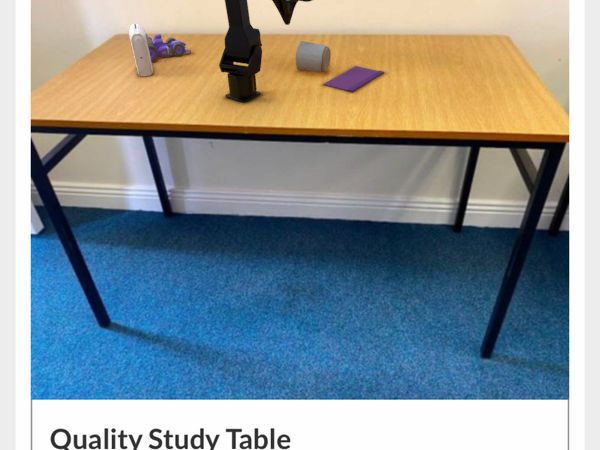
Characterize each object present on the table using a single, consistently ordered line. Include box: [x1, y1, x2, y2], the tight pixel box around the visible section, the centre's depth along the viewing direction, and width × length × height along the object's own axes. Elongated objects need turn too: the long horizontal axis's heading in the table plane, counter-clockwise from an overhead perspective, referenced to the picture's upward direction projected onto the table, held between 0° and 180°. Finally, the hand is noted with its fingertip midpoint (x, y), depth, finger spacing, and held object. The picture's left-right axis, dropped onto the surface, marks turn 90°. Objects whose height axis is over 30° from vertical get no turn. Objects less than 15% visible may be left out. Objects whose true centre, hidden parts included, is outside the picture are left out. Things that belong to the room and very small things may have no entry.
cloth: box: [322, 65, 385, 94], centre depth 126 cm, size 16×9×1 cm, turn 142°
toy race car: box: [145, 33, 192, 64], centre depth 143 cm, size 10×15×6 cm, turn 120°
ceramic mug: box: [295, 40, 332, 74], centre depth 130 cm, size 11×8×8 cm
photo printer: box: [128, 23, 154, 77], centre depth 131 cm, size 10×4×12 cm, turn 17°
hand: (287, 24), depth 129 cm, fingers closed
